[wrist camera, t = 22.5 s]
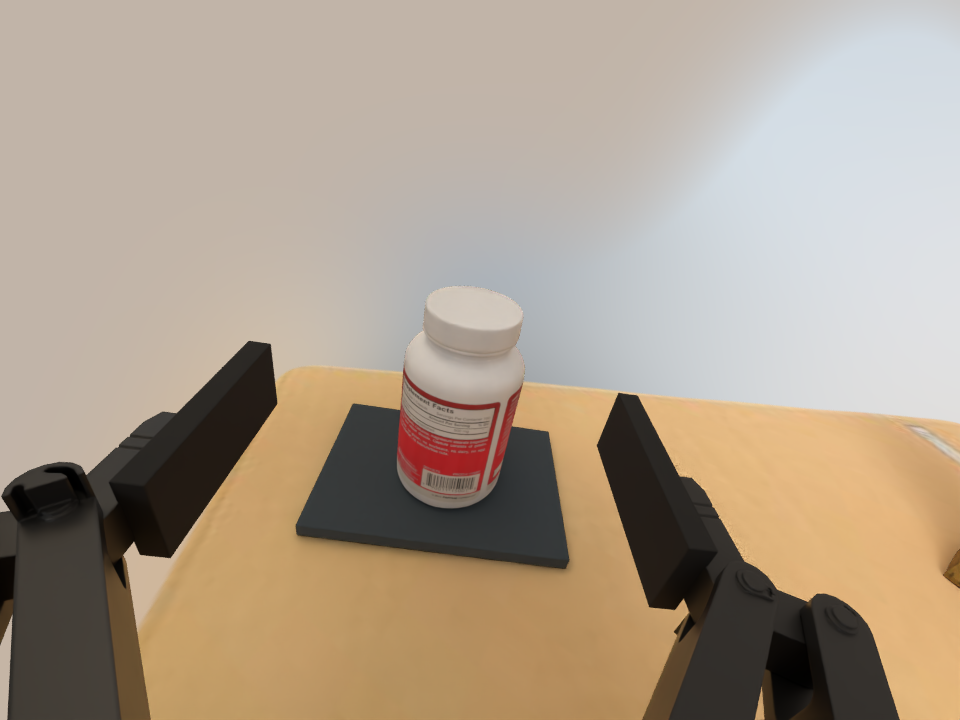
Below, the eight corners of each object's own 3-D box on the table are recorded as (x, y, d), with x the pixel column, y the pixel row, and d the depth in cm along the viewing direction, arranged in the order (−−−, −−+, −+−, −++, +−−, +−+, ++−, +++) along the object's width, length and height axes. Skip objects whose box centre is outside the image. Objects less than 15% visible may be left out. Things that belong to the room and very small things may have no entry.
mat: (296, 535, 21) (295, 525, 21) (352, 411, 30) (353, 402, 29) (565, 569, 22) (570, 560, 22) (546, 439, 31) (548, 431, 30)
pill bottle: (458, 425, 29) (485, 274, 23) (517, 484, 25) (566, 322, 20) (376, 456, 25) (384, 286, 20) (431, 532, 22) (461, 349, 16)
